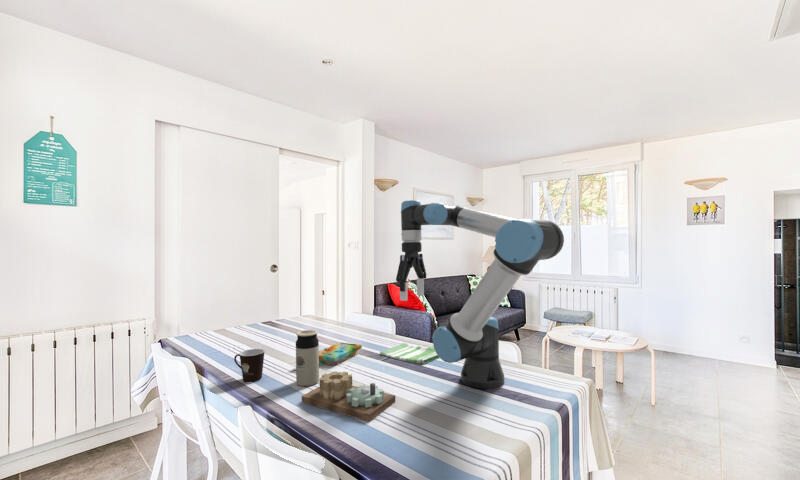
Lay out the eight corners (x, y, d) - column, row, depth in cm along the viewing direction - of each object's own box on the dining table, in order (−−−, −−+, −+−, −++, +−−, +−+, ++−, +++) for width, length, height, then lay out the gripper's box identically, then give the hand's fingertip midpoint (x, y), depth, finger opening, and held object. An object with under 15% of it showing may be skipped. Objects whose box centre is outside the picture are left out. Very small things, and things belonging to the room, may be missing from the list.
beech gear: (358, 389, 117) (358, 374, 117) (338, 402, 108) (338, 385, 108) (334, 384, 122) (333, 369, 122) (313, 395, 113) (312, 379, 113)
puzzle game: (312, 352, 150) (340, 340, 168) (312, 363, 150) (340, 350, 168) (334, 356, 144) (361, 343, 162) (335, 367, 144) (361, 353, 162)
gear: (390, 395, 111) (390, 379, 111) (370, 410, 102) (369, 393, 102) (361, 388, 117) (360, 373, 117) (339, 402, 107) (338, 385, 107)
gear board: (395, 401, 112) (395, 382, 112) (370, 421, 100) (369, 400, 100) (331, 386, 125) (330, 369, 125) (301, 402, 113) (301, 383, 113)
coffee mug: (269, 378, 133) (268, 351, 133) (246, 385, 127) (245, 357, 127) (254, 371, 141) (254, 346, 141) (232, 377, 135) (232, 351, 135)
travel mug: (311, 376, 135) (311, 328, 135) (323, 382, 129) (322, 332, 129) (292, 382, 129) (291, 332, 129) (303, 388, 123) (302, 336, 124)
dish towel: (404, 346, 173) (404, 340, 173) (446, 355, 158) (445, 349, 158) (379, 356, 159) (379, 350, 159) (422, 367, 144) (422, 360, 144)
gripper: (417, 241, 149) (418, 292, 149) (385, 242, 127) (386, 302, 127) (434, 241, 145) (435, 293, 145) (404, 241, 123) (405, 303, 123)
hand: (412, 297), depth 136 cm, fingers open, 13 cm apart
